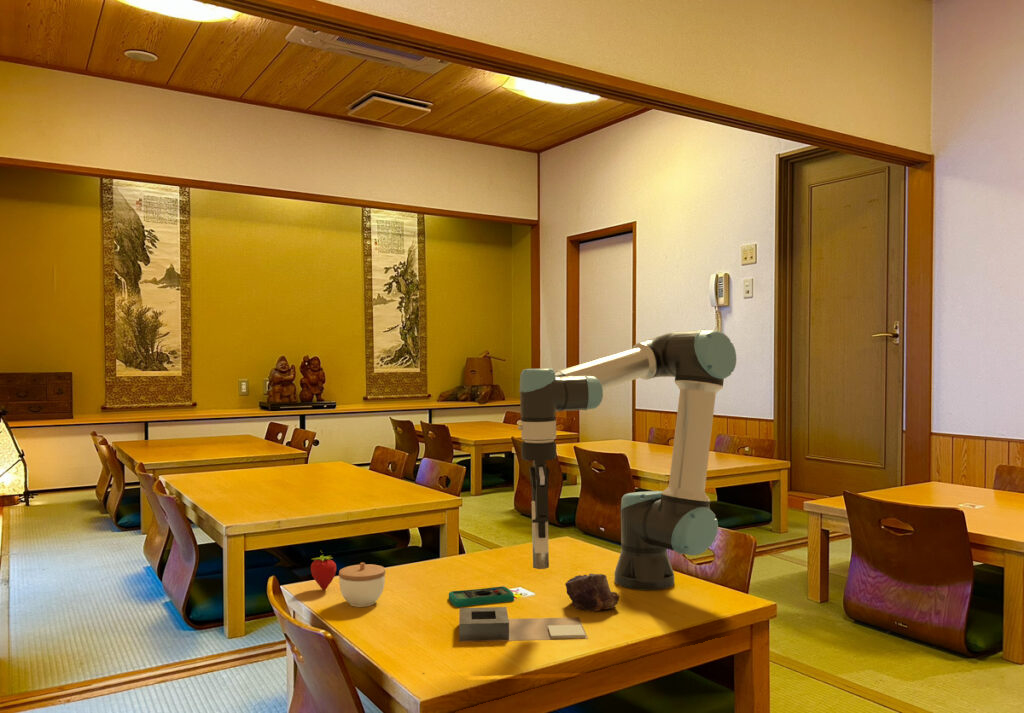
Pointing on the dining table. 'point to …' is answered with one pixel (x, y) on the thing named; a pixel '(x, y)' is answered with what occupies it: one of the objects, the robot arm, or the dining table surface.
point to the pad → (566, 631)
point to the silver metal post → (538, 558)
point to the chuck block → (483, 624)
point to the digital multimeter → (480, 596)
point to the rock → (591, 592)
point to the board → (536, 628)
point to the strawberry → (323, 571)
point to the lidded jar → (362, 584)
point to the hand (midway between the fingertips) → (540, 549)
